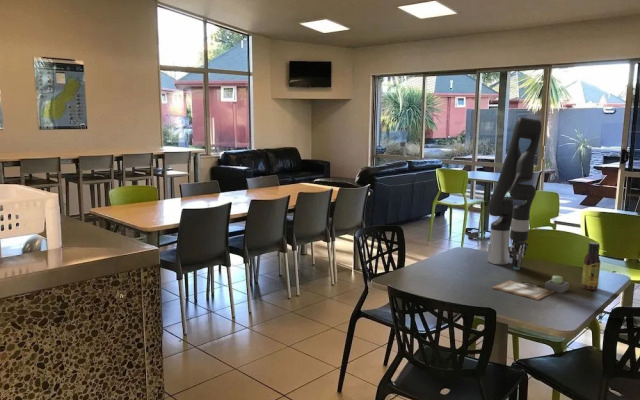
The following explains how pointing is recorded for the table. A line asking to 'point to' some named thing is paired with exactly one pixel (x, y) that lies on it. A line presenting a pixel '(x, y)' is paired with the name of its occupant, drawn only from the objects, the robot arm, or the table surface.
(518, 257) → the cylinder
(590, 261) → the sauce bottle
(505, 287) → the clipboard
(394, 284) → the table surface
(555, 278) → the button
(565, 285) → the button housing
